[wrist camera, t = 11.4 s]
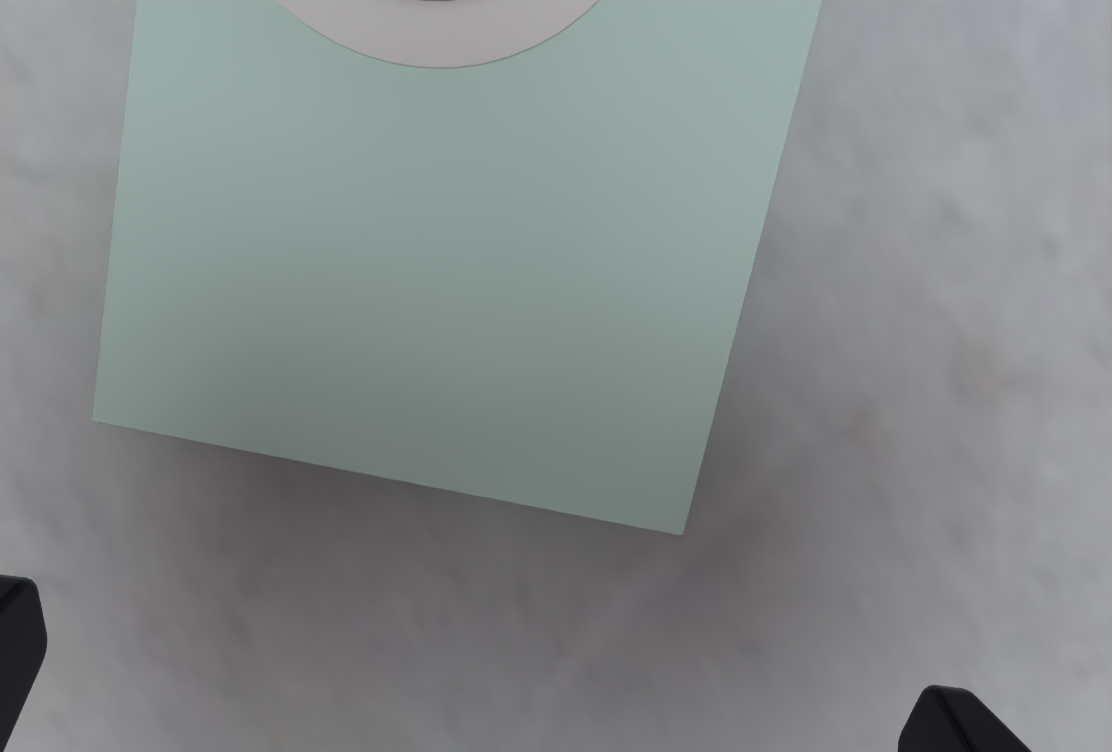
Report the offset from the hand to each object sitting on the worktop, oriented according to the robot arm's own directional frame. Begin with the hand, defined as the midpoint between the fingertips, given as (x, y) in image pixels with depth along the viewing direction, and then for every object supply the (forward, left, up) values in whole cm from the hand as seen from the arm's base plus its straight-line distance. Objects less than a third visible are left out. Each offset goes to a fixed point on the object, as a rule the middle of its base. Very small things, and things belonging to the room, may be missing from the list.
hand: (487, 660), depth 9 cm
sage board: (+8, +2, -12) cm, 14 cm away
